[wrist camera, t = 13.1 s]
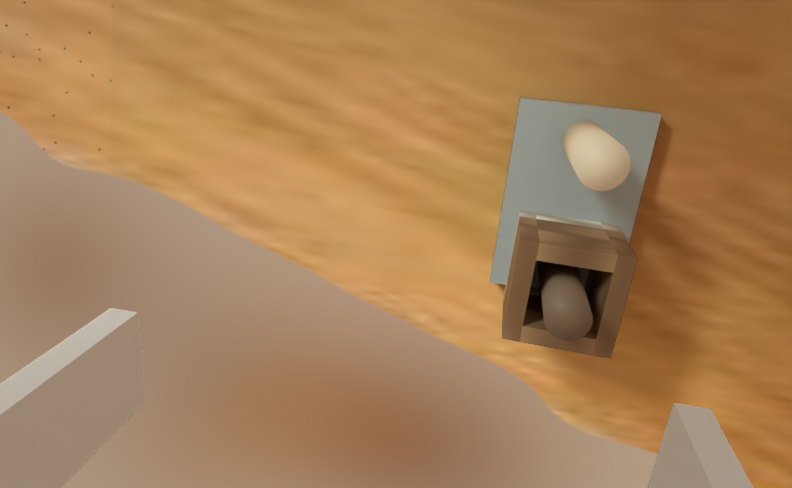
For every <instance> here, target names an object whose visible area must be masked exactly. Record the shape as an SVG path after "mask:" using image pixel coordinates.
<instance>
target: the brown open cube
mask: <svg viewBox="0 0 792 488" xmlns="http://www.w3.org/2000/svg"><path fill="white" fill-rule="evenodd" d="M536 260H537V261H543V262H549V263H555V264H562V265H568V266H574V267H580V268H586V269H590V270H589V274H588V278H587V282H586V286H585V292H586V295H587V299H588V302H589V305H590V309H591V312H592V315H593V324H592V327H591V329H590V330H589V332H588V333H587V334H586V335H584V336H583V337H581V338H579V339H576V340H571V341H566V340H561V339H558V338H556V337H554V336H552V335H551V334H550V333H549V332H548V330H547V329H546V327H545V324H544V317H543V308H542V299H541V290H540V288H538V287H532V286H531V283H532V278H533V273H534V268H535V263H536ZM637 260H638V258H637V256H636V255H635V253H634V251H633V250H632V248H631V246H630V245H629V243H628V241H627V240H626V238H625V236H624V235H623V233H622V232H621V230H620V228H619V227H618V225H614V224H607V223H600V222H594V221H587V220H580V219H574V218H567V217H560V216H554V215H547V214H540V213H534V212H527V211H520V210H519V215H518V221H517V226H516V232H515V237H514V242H513V248H512V253H511V259H510V264H509V269H508V275H507V280H506V285H505V291H504V298H503V322H502V339H508V340H513V341H518V342H524V343H529V344H534V345H540V346H545V347H550V348H556V349H561V350H567V351H572V352H577V353H583V354H588V355H593V356H599V357H604V358H610V359H611V356H612V352H613V348H614V345H615V341H616V337H617V334H618V330H619V326H620V323H621V319H622V315H623V311H624V308H625V304H626V300H627V297H628V293H629V289H630V286H631V282H632V278H633V275H634V271H635V267H636V264H637Z"/></svg>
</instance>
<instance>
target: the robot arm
mask: <svg viewBox="0 0 792 488" xmlns="http://www.w3.org/2000/svg"><path fill="white" fill-rule="evenodd" d="M138 320H139V319H138V313H137V312H132V311H126V310H120V309H113V308H110V309H109V310H107V311H106V312H104V313H103V314H101V315H100V316H99V317H97V318H96V319H94V320H93V321H91V322H90V323H88V324H87V325H85V326H84V327H82V328H81V329H79V330H78V331H77V332H75V333H74V334H72V335H71V336H69V337H68V338H66V339H65V340H63V341H62V342H61V343H59V344H58V345H56V346H55V347H53V348H52V349H50V350H49V351H47V352H46V353H44V354H43V355H42V356H40V357H38V358H37V359H36V360H34V361H33V362H31V363H30V364H28V365H27V366H25V367H24V368H22V369H21V370H19V371H18V372H16V373H15V374H14V375H12V376H11V377H9V378H8V379H6V380H5V381H3V382H2V383H1V384H0V488H61V487H62V486H63V485H64V484H65V483H66V482H67V481H68V480H69V479H70V478H71V477H72V476H73V475H74V474H75V473H76V472H77V471H78V470H79V469H80V468H81V467H82V466H83V465H84V464H85V463H86V462H87V461H88V460H89V459H90V458H91V457H92V456H93V455H94V454H95V453H96V452H97V451H98V450H99V449H100V448H101V447H102V446H103V445H104V444H105V443H106V442H107V441H108V440H109V439H110V438H111V437H112V436H113V435H114V434H115V433H116V432H117V431H118V430H119V429H120V428H121V427H122V426H123V425H124V424H125V423H126V422H127V421H128V420H129V419H130V418H131V417H132V416H133V415H134V414H135V413H136V412H137V411H138V409H140V407H142V406H143V405H144V404H145V403H146V402H147V400H148V399H147V392H146V382H145V374H144V364H143V355H142V346H141V337H140V328H139V321H138ZM648 488H753V486H752V484H751V482H750V480H749V478H748V477H747V475H746V473H745V471H744V469H743V467H742V466H741V464H740V462H739V460H738V458H737V456H736V455H735V453H734V451H733V449H732V447H731V445H730V444H729V442H728V440H727V438H726V436H725V434H724V432H723V431H722V429H721V427H720V425H719V423H718V421H717V420H716V418H715V416H714V414H713V412H712V410H711V409H710V408H704V407H698V406H692V405H686V404H680V403H674V404H673V407H672V410H671V413H670V417H669V420H668V423H667V426H666V429H665V433H664V436H663V439H662V442H661V445H660V449H659V452H658V455H657V458H656V462H655V465H654V468H653V471H652V475H651V478H650V481H649V484H648Z"/></svg>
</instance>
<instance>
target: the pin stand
mask: <svg viewBox="0 0 792 488" xmlns="http://www.w3.org/2000/svg"><path fill="white" fill-rule="evenodd" d="M661 116H662V114H660V113H658V112H651V111H642V110H633V109H624V108H615V107H606V106H597V105H587V104H578V103H569V102H560V101H551V100H542V99H533V98H524V97H520V102H519V108H518V114H517V120H516V126H515V132H514V138H513V144H512V150H511V157H510V163H509V169H508V175H507V181H506V187H505V193H504V199H503V205H502V211H501V217H500V223H499V229H498V235H497V241H496V247H495V253H494V259H493V265H492V271H491V278H490V282H491V283H497V284H503V285H506V280H507V275H508V269H509V264H510V259H511V253H512V248H513V242H514V237H515V232H516V226H517V221H518V215H519V210H520V211H527V212H534V213H540V214H547V215H554V216H560V217H567V218H574V219H580V220H587V221H594V222H600V223H607V224H614V225H618V227H619V228H620V230H621V232H622V233H623V235H624V236H625V238H626V240H627V241H628V243H629V242H630V238H631V234H632V230H633V226H634V222H635V218H636V214H637V211H638V207H639V203H640V199H641V195H642V191H643V187H644V183H645V179H646V175H647V171H648V167H649V163H650V159H651V155H652V151H653V148H654V144H655V140H656V136H657V132H658V128H659V124H660V120H661ZM589 270H590V269H586V268H580V267H574V266H568V265H562V264H555V263H549V262H543V261H537V260H536V263H535V268H534V273H533V278H532V283H531V286H532V287H538V288H540V290H541V299H542V308H543V317H544V324H545V327H546V329H547V330H548V332H549V333H550V334H551V335H552V336H554V337H556V338H558V339H561V340H566V341H571V340H576V339H579V338H581V337H583V336H584V335H586V334H587V333H588V332H589V330H590V329H591V327H592V324H593V315H592V312H591V309H590V305H589V302H588V299H587V295H586V292H585V286H586V282H587V278H588V274H589Z"/></svg>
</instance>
